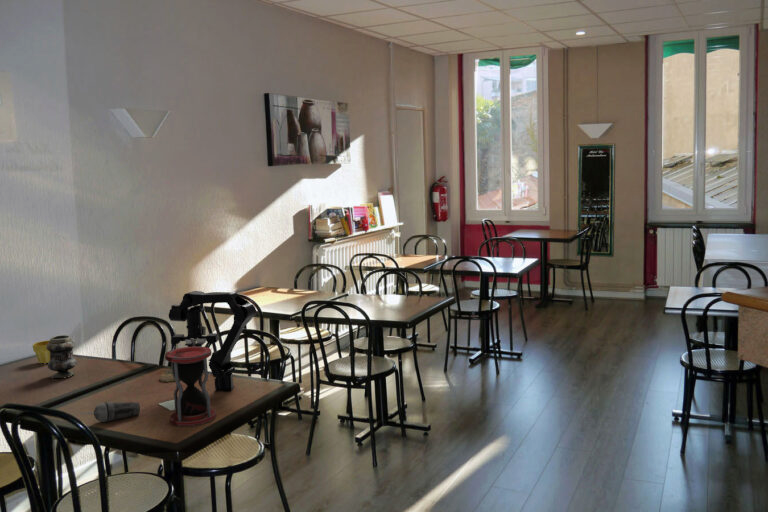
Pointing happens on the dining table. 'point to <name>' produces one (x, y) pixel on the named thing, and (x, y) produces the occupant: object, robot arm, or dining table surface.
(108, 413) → the beverage cup
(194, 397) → the hourglass
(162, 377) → the bread roll
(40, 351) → the plant pot
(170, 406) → the mat
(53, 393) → the dining table surface
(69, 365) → the apothecary jar
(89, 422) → the dining table surface
